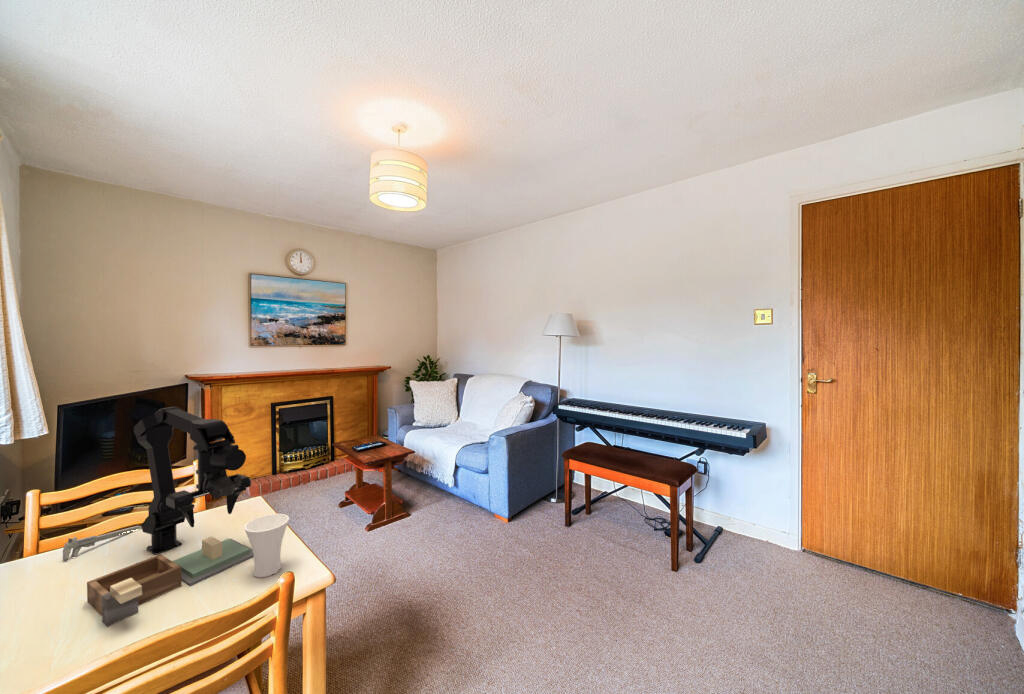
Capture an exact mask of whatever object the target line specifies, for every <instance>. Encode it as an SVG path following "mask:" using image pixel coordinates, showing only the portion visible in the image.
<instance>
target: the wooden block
mask: <svg viewBox="0 0 1024 694" xmlns="http://www.w3.org/2000/svg"><path fill="white" fill-rule="evenodd" d="M110 595H111V596H112V597H113V598H115V599H116V600H117V601H118V602H119V603H120V604H122V603H124V602H126V601H129V600H131V599H133V598H136V597H138V596H140V595H142V586H141V585H140V584H139V583H137V582H136V581H135V580H133V579H132V578H129V579H127V580H124V581H122V582H119V583H117V584H114V585H112V586H110Z"/></svg>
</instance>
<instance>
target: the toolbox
mask: <svg viewBox="0 0 1024 694" xmlns="http://www.w3.org/2000/svg"><path fill="white" fill-rule="evenodd" d="M173 561H174V560H171V559H169V557H166V556H164V555H163V554H162V553H159V554H156V555H154V556H153V557H149V558H147V559H144V560H141V561H139V562H136V563H134V564H131V565H128V566H126V567H124V568H120V569H117V570H116V571H112V572H109V573H108V574H105V575H102V576H99V577H96V578H94V579H92V580H89V581H87V582H86V593H87V594H86V597H87V604H88V605H89V606H91V607H92V608H93V610H95V611H96V612H97V613H98V614H99V616H101V617H102V618H101V622H102V623H103V624H104V625H105V626H106V627H110V626H113V625H114V624H117V623H119V622H120V621H123V620H125V619H127V618H129V617H132V616H133V615H136V614H138V613H139V606H140V605H143V604H145V603H147V602H150V601H151V600H154V599H156V598H158V597H160V596H162V595H165V594H167V593H169V592H171V591H172V592H173V590H176V589H178V588H181V587H182V582H183V581H181V566H179V565H177V564H176V563H174V562H173ZM129 578H132V579H133V580H135V581H136V582H137V583H139V584H140V585H141V586H142V595H140V596H138V597H136V598H133V599H131V600H129V601H126V602H124V603H122V604H120V603H119V602H118V601H117V600H116V599H115V598H113V597H112V596H111V595H110V586H112V585H114V584H117V583H119V582H122V581H124V580H127V579H129Z"/></svg>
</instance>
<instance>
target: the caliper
mask: <svg viewBox="0 0 1024 694" xmlns="http://www.w3.org/2000/svg"><path fill="white" fill-rule="evenodd" d="M136 529H139V530H140V529H142V527H141V525H136V526H131V527H128V528H127V527H126V528H123V529H119V530H115V531H112V532H111V531H110V532H108V533H105V534H100V535H92V536H87V537H84V538H83V537H82V538H79V539H78V536H73V538H72V537H71V538H68V540H67V542H66V543H64V545H63V549H62V561H64V562H68V561H69V557H76V558H77V557H78V554H79V552H80V551H81V549H82V548H89V547H93V546H95V545H96V543H98V542H101V541H104V540H105V541H106V540H109V539H112V538H117V537H120V536H124V535H127V534H126V533H127V531H130V532H131V533H134V532H133V531H131V530H136ZM123 532H126V533H123ZM122 533H123V535H122ZM119 534H120V535H119ZM71 551H72V552H71ZM70 554H71V555H70ZM67 560H68V561H67Z"/></svg>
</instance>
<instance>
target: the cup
mask: <svg viewBox="0 0 1024 694" xmlns="http://www.w3.org/2000/svg"><path fill="white" fill-rule="evenodd" d="M289 520H290V517H289V515H287V514H283V513H270V514H265V515H261V516H258V517H256V518H252V519H251V520H249V521H248V522H246V523H245V525H244V527H243V528H244V531H245V534H246V536H247V538H248V542H249V543H250V547H251V549H252V550H253V554H254V557H253V563H254V565H253V573H252V574H253V576H254V577H255V578H267V577H270V576H273V575H275V574H276V573H278V572H279V571H280V570H281V569H282V562H281V550H282V545H283V539H284V535H285V532H286V530H287V529H286V528H287V526H288V523H289ZM280 568H281V569H280ZM279 569H280V570H279ZM278 570H279V571H278ZM277 571H278V572H277ZM275 572H276V573H275ZM274 573H275V574H274ZM272 574H273V575H272Z"/></svg>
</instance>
